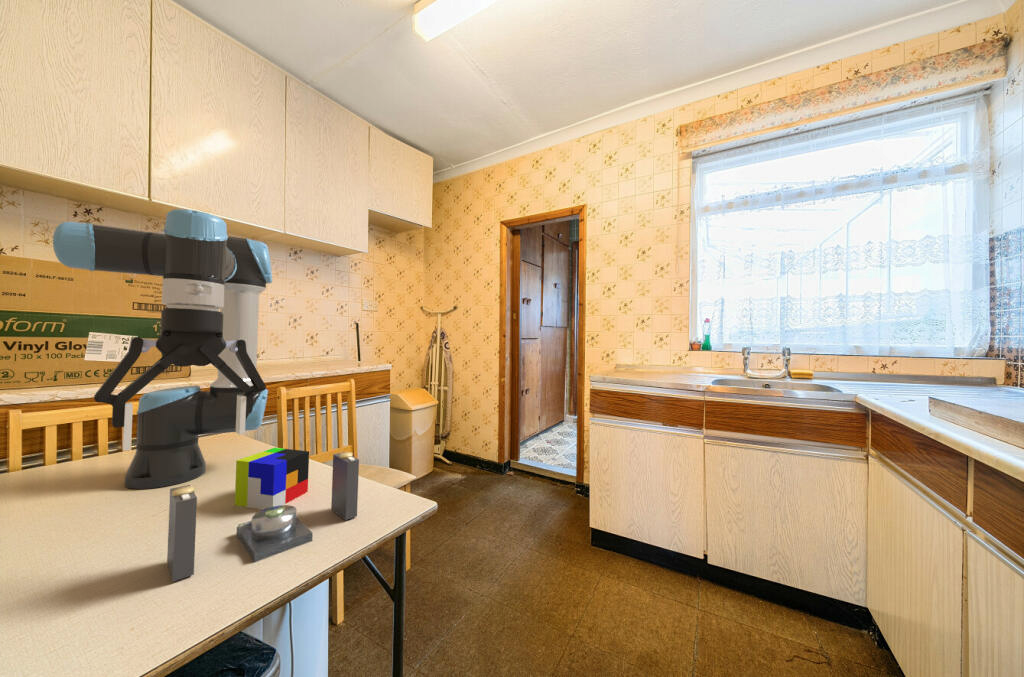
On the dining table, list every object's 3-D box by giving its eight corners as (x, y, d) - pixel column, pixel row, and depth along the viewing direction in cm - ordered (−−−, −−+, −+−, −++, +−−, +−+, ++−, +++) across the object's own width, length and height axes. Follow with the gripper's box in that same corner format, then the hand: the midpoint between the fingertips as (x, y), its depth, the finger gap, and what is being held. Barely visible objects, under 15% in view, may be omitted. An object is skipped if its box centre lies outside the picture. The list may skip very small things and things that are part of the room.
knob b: (330, 509, 78) (332, 451, 78) (342, 505, 80) (344, 449, 80) (345, 520, 73) (347, 459, 74) (357, 516, 75) (359, 456, 76)
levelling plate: (236, 535, 67) (237, 507, 67) (289, 518, 74) (290, 492, 74) (254, 562, 60) (255, 530, 60) (312, 540, 66) (313, 512, 66)
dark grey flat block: (166, 562, 58) (169, 485, 58) (187, 555, 60) (190, 480, 60) (171, 582, 54) (175, 498, 54) (194, 574, 56) (197, 493, 56)
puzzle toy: (272, 511, 77) (274, 465, 77) (234, 505, 79) (236, 460, 79) (307, 492, 87) (309, 451, 87) (273, 487, 89) (274, 447, 89)
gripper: (70, 298, 46) (63, 464, 46) (288, 314, 65) (284, 431, 65) (72, 301, 51) (66, 451, 50) (275, 315, 70) (270, 423, 69)
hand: (188, 440), depth 57 cm, fingers open, 13 cm apart
